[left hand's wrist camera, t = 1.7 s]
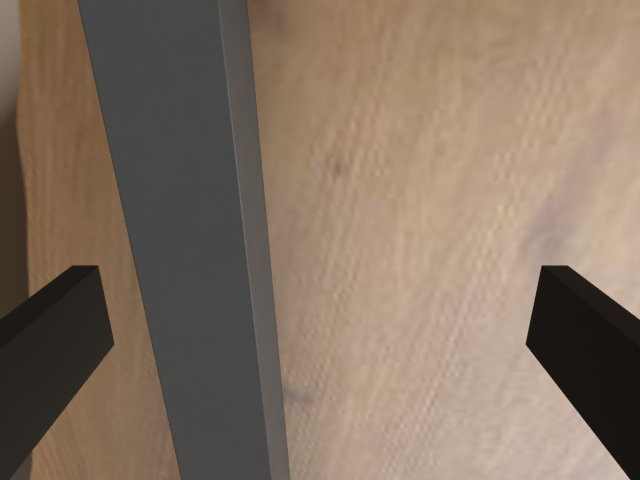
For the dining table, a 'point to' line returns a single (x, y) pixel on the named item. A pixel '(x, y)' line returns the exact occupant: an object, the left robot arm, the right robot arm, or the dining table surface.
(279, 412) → the post
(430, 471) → the dining table surface
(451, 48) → the dining table surface
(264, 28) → the dining table surface
